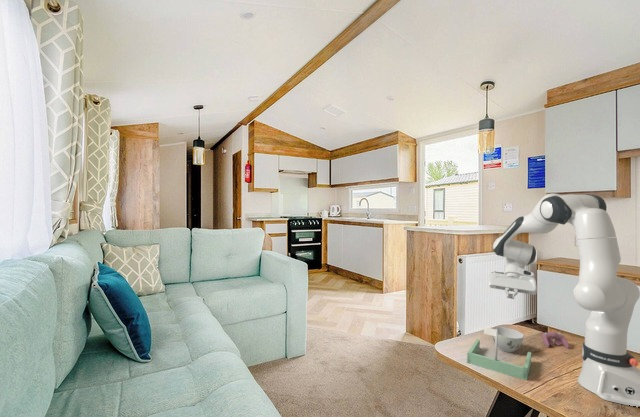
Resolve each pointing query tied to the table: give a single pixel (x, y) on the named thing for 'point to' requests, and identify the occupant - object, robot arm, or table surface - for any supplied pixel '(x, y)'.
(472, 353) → the corral
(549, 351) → the table surface
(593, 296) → the robot arm
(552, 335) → the video game controller
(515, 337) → the teacup
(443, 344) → the table surface
